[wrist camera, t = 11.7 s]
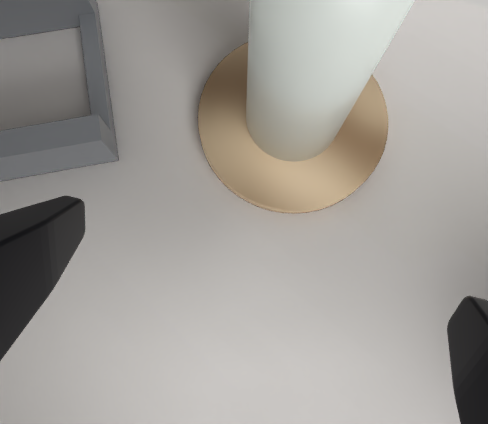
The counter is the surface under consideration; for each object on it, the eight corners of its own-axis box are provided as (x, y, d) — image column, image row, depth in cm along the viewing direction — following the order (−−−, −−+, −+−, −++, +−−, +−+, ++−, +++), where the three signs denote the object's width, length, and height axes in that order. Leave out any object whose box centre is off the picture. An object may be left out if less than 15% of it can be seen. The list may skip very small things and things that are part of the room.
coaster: (364, 233, 19) (370, 231, 18) (177, 187, 19) (174, 183, 18) (396, 65, 21) (402, 55, 20) (225, 25, 21) (225, 15, 20)
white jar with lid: (302, 183, 18) (406, -12, 7) (223, 124, 19) (199, -148, 7) (360, 110, 19) (540, -174, 8) (283, 56, 20) (343, -285, 8)
